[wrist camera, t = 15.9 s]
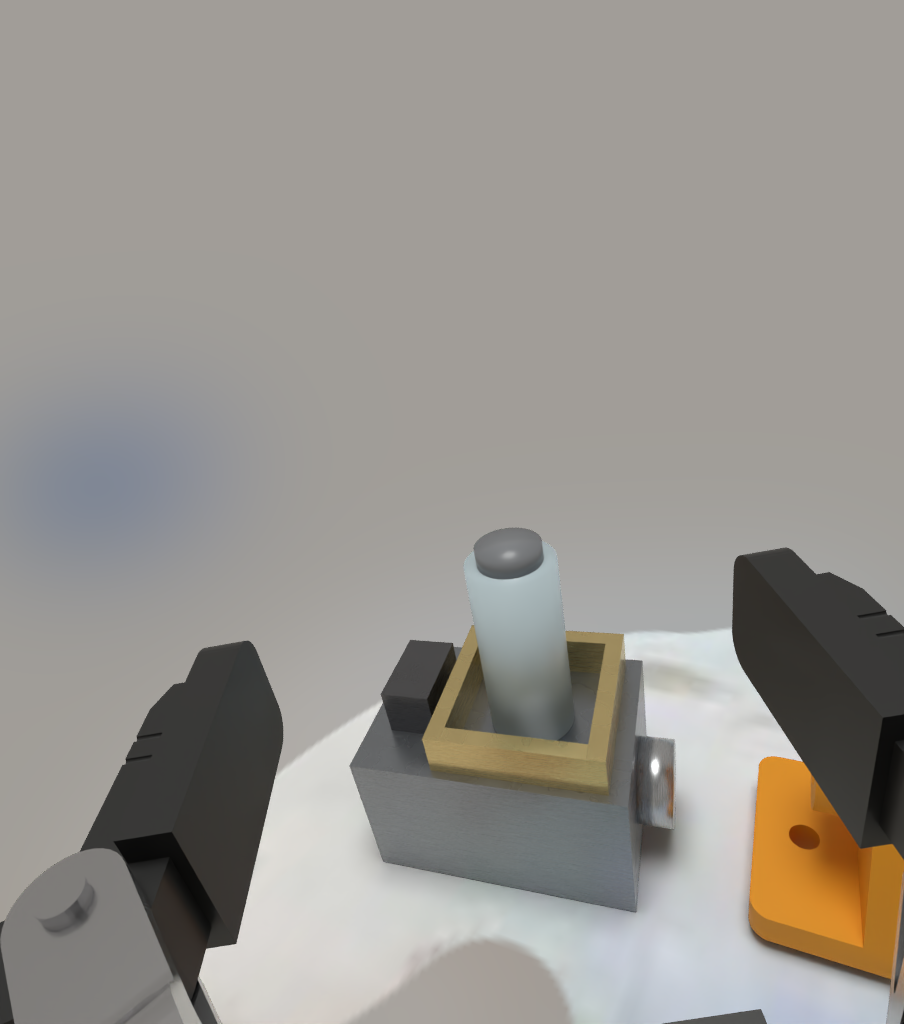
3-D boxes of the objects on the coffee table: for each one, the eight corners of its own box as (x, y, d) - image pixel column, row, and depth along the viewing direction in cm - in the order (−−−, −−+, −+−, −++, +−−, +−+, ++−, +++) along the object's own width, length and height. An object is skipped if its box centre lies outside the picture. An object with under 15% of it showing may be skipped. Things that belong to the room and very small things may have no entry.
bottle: (579, 689, 41) (561, 521, 36) (568, 751, 37) (546, 571, 32) (501, 683, 43) (473, 522, 38) (483, 742, 39) (449, 569, 33)
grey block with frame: (677, 762, 46) (674, 625, 40) (673, 919, 37) (667, 771, 31) (437, 732, 52) (405, 611, 47) (383, 861, 43) (336, 729, 38)
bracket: (758, 782, 44) (766, 639, 38) (888, 810, 40) (917, 659, 35) (746, 943, 35) (754, 791, 30) (909, 994, 32) (952, 835, 27)
